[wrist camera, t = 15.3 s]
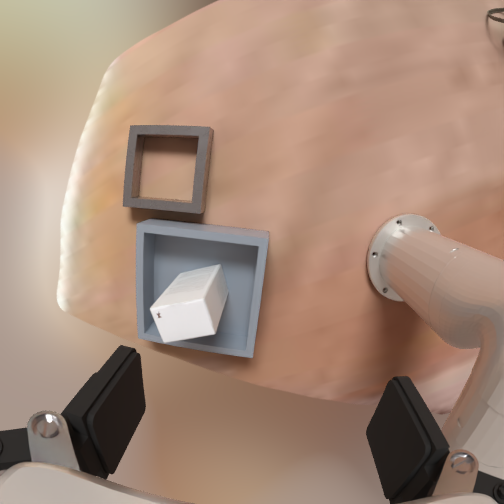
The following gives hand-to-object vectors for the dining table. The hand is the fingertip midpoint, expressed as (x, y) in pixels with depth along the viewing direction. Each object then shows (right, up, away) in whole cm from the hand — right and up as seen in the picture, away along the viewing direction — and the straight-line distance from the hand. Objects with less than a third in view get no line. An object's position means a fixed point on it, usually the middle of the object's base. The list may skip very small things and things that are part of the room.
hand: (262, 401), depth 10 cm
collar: (-11, +17, +28) cm, 34 cm away
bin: (-7, +1, +31) cm, 32 cm away
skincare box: (-7, +1, +30) cm, 31 cm away
